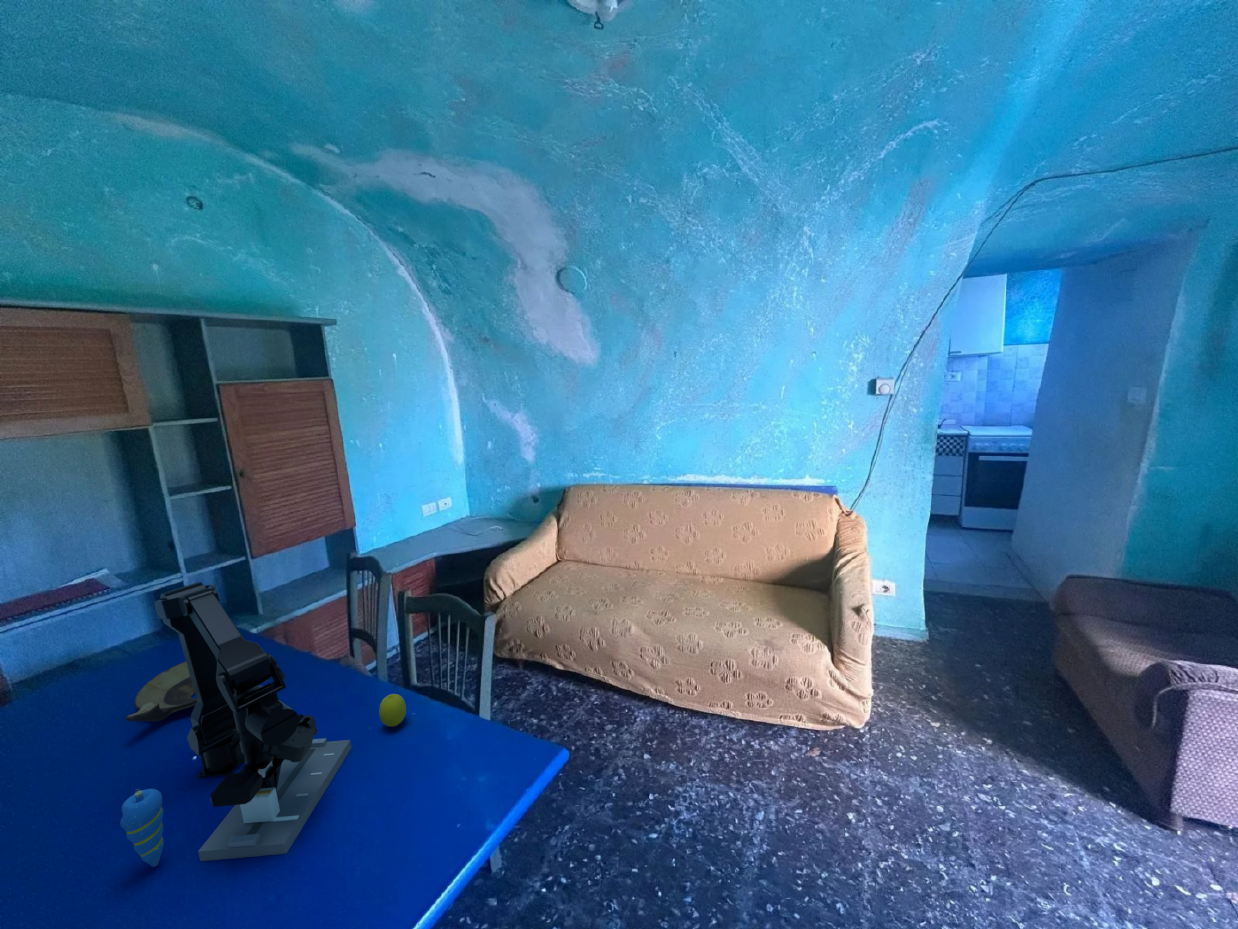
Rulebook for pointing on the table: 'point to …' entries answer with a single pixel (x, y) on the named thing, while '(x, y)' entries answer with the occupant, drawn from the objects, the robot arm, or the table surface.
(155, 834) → the ornament
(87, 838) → the table surface
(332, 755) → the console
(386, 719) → the lemon
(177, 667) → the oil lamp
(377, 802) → the table surface
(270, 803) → the fader tab
